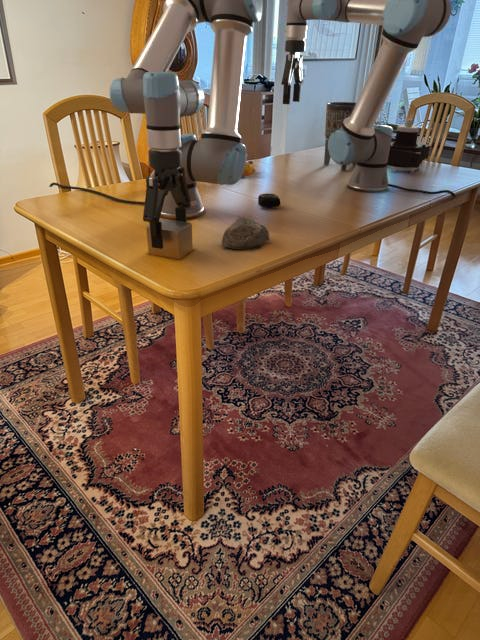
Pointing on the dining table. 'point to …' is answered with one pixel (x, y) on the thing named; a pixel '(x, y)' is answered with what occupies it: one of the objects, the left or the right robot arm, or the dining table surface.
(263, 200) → the tape measure
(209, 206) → the dining table surface
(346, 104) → the planter
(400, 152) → the mechanical component
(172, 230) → the block
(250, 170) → the toy
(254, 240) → the rock
